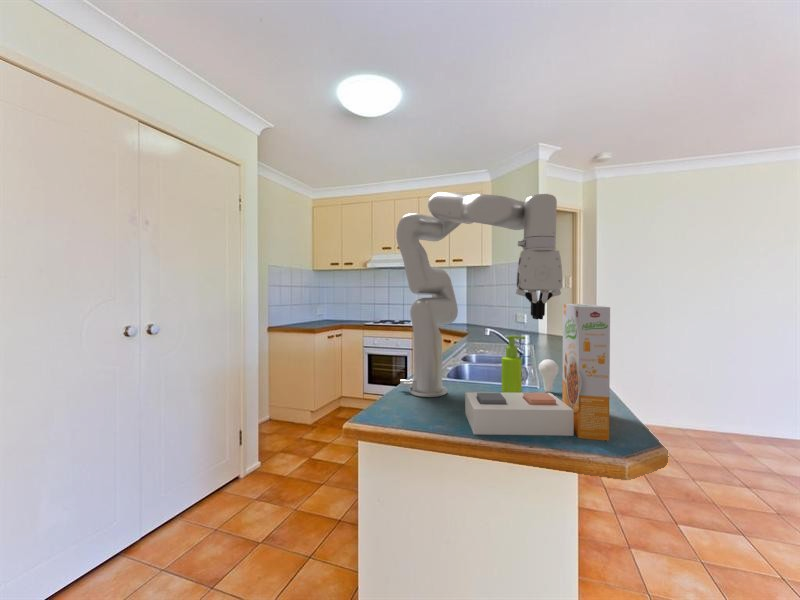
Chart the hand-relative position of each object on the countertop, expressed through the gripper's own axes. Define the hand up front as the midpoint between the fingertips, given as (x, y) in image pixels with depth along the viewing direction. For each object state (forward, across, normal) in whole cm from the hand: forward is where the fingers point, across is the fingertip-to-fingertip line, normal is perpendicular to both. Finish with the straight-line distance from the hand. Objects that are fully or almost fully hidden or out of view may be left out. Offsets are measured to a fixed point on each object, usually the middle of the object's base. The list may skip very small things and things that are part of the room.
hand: (537, 318), depth 90 cm
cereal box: (+27, +13, +1) cm, 30 cm away
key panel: (+27, -5, -1) cm, 27 cm away
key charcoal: (+24, -11, -1) cm, 26 cm away
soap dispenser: (+27, 0, +19) cm, 33 cm away
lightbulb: (+27, +14, +28) cm, 41 cm away
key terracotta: (+24, +1, -1) cm, 24 cm away
